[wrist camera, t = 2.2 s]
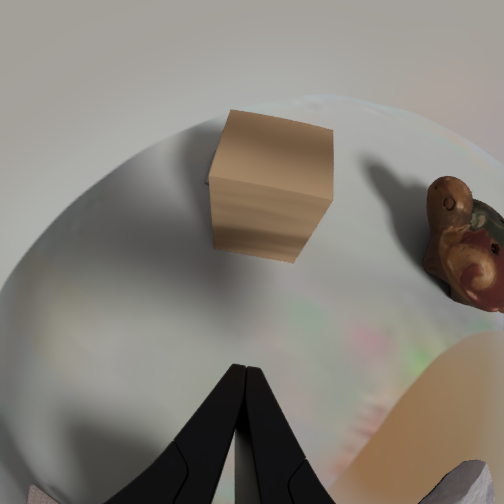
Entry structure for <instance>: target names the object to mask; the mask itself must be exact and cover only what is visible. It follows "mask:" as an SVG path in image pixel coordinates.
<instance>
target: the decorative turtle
mask: <svg viewBox="0 0 504 504" xmlns="http://www.w3.org/2000/svg"><path fill="white" fill-rule="evenodd" d="M471 193H472V192H471V191H470V189H469V187H468V186H467V185H466V184H465V183H464V182H463V181H462V180H460V179H458V178H456V177H452V176H444V177H440V178H438V179H437V180H435V181H434V182H433V183H432V184H431V185H430V187H429V189H428V195H427V216H428V222H429V226H430V231H431V238H430V242H429V246H428V249H427V251H426V254H425V256H424V259H423V266H424V269H425V270H426V271H427V272H428V273H430V274H431V275H433V276H435V277H438V278H440V279H442V280H444V281H445V282H447V283H448V284H449V285H450V286H451V298H452V300H453V301H455V302H458V303H461V304H464V305H468V306H472V307H475V308H478V309H481V310H484V311H487V312H496V311H499V312H501V313H504V218H503V217H502V216H501V215H500V214H499V213H498V212H497V211H496V210H494V209H493V208H492V207H490V206H489V205H487V204H485V203H483V202H481V201H479V200H476V199H473V197H472V194H471Z"/></svg>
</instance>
